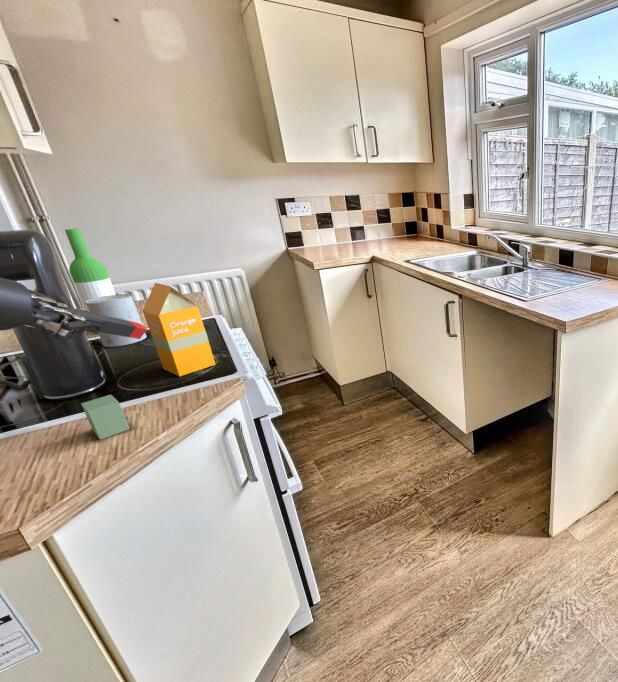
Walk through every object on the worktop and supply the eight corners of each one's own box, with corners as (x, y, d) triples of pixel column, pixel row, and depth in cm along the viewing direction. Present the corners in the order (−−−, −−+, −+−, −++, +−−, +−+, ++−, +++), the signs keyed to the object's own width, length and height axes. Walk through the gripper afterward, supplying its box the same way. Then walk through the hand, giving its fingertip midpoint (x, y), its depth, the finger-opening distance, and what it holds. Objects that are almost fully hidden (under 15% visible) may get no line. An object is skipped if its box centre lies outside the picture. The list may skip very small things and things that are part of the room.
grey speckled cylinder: (94, 344, 117) (77, 301, 112) (134, 333, 125) (119, 293, 120) (115, 348, 113) (97, 304, 109) (154, 336, 121) (139, 295, 117)
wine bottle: (90, 331, 128) (48, 230, 117) (122, 324, 134) (85, 227, 123) (99, 335, 124) (57, 231, 113) (132, 327, 130) (94, 227, 119)
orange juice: (179, 376, 95) (149, 290, 88) (162, 368, 99) (132, 286, 92) (216, 364, 101) (191, 282, 94) (199, 357, 106) (174, 279, 98)
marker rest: (100, 439, 72) (87, 411, 70) (93, 430, 75) (80, 403, 73) (129, 429, 75) (118, 401, 73) (121, 420, 78) (110, 394, 76)
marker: (65, 326, 69) (74, 314, 69) (54, 319, 69) (63, 307, 70) (140, 339, 83) (147, 329, 83) (130, 332, 83) (138, 322, 83)
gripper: (25, 303, 57) (138, 325, 74) (-50, 249, 58) (78, 284, 75) (-14, 348, 56) (109, 361, 73) (-89, 293, 57) (50, 318, 74)
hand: (93, 322), depth 74 cm, fingers closed on marker, 2 cm apart
